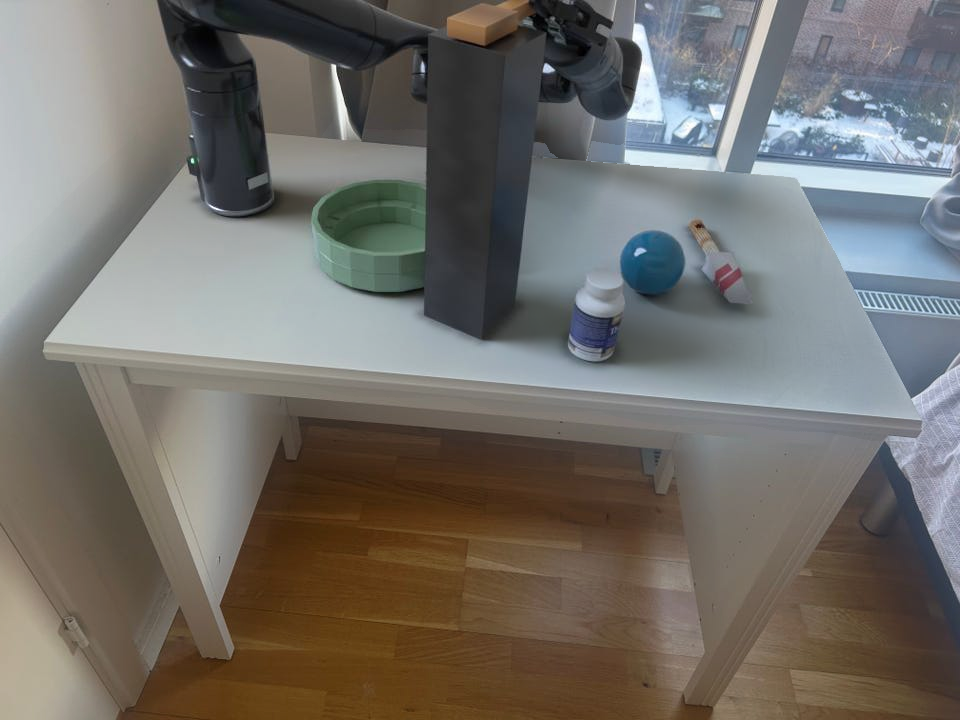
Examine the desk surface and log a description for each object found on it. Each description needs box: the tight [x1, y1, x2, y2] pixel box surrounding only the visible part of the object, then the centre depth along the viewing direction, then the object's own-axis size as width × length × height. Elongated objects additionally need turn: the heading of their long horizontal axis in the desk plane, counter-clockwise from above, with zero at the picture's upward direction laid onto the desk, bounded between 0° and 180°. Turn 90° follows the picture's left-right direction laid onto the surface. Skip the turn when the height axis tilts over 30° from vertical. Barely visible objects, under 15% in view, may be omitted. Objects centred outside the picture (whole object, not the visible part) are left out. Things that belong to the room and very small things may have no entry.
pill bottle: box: [567, 267, 626, 362], centre depth 82 cm, size 5×5×10 cm
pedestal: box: [423, 24, 546, 341], centre depth 79 cm, size 8×8×32 cm
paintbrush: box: [689, 218, 753, 304], centre depth 99 cm, size 4×3×20 cm
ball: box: [619, 229, 686, 296], centre depth 92 cm, size 8×8×8 cm
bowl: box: [310, 179, 426, 293], centre depth 95 cm, size 19×19×6 cm
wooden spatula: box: [446, 0, 536, 46], centre depth 70 cm, size 16×4×2 cm, turn 149°
